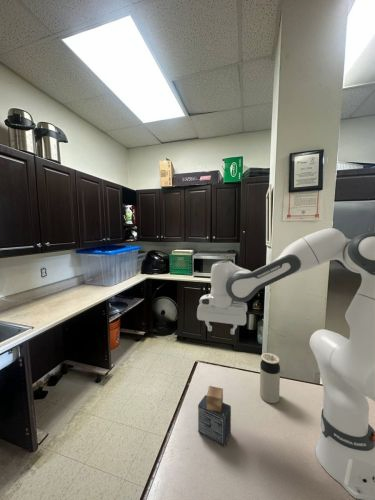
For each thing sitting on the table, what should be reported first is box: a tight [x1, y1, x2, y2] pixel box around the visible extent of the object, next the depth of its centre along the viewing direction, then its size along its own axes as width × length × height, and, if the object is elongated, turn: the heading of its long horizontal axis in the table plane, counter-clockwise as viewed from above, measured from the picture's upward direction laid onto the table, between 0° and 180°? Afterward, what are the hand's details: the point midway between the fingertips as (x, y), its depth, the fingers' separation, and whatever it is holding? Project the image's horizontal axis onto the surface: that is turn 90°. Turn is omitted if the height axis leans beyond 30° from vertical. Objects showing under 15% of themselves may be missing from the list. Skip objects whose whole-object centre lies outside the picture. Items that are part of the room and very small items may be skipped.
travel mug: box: [259, 352, 281, 404], centre depth 92 cm, size 8×8×18 cm
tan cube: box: [206, 385, 224, 412], centre depth 75 cm, size 5×5×5 cm
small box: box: [197, 394, 232, 447], centre depth 75 cm, size 11×6×10 cm, turn 58°
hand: (221, 332), depth 87 cm, fingers open, 8 cm apart
